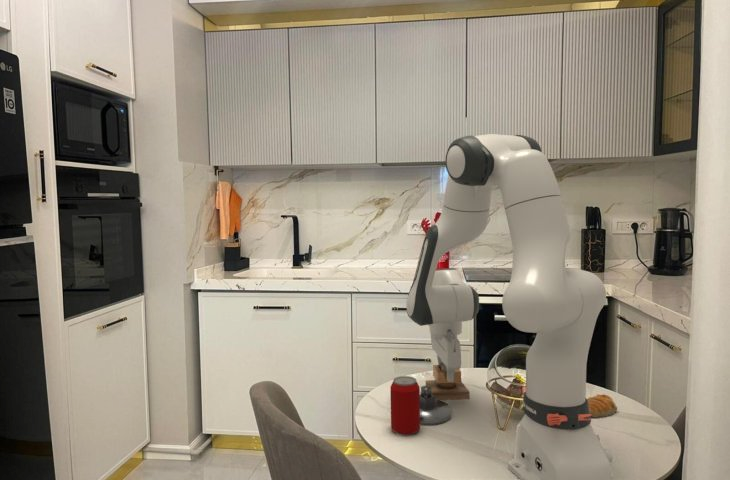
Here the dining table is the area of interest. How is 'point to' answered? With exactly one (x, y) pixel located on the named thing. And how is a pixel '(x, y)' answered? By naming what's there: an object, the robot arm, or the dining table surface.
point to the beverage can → (405, 405)
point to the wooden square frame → (441, 375)
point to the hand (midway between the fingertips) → (445, 374)
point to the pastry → (601, 405)
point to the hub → (432, 408)
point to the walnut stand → (448, 389)
